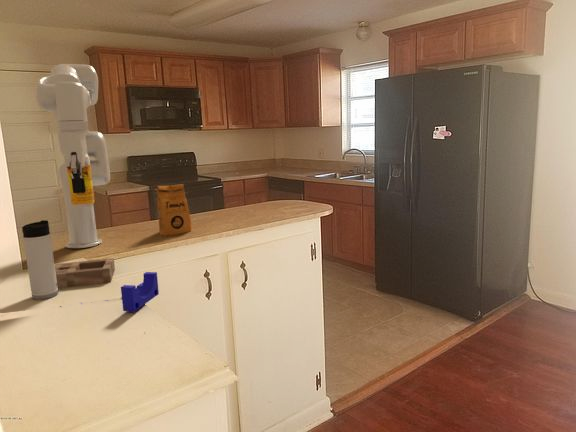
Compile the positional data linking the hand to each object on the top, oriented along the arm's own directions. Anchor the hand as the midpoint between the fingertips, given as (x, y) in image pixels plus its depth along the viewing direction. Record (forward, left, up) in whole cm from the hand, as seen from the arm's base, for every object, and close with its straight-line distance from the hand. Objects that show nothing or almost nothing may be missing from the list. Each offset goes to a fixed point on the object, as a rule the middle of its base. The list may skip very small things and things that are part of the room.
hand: (81, 190), depth 131 cm
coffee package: (-44, +26, -27) cm, 58 cm away
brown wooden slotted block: (0, -2, -26) cm, 26 cm away
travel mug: (+12, -10, -27) cm, 31 cm away
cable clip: (+26, +15, -27) cm, 40 cm away
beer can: (0, 0, -5) cm, 5 cm away
